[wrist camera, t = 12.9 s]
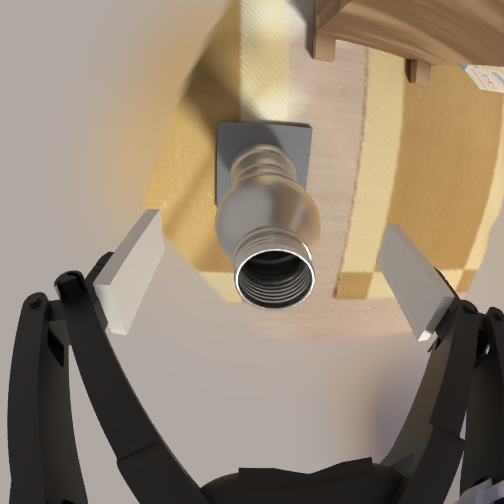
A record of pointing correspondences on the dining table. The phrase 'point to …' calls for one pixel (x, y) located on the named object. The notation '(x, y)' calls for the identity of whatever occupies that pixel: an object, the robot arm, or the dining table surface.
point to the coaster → (247, 134)
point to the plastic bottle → (268, 229)
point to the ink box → (486, 76)
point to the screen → (415, 31)
